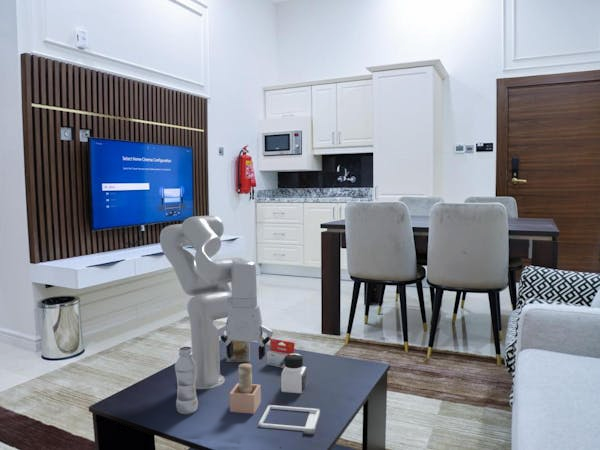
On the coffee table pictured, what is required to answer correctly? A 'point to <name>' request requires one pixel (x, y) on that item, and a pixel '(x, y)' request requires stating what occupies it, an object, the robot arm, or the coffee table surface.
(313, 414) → the tray
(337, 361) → the coffee table surface
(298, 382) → the medicine bottle
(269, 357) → the ink cartridge box
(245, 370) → the dowel
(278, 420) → the coffee table surface
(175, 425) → the coffee table surface
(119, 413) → the coffee table surface
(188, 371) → the plastic bottle
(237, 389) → the pen pot
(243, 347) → the coffee box
